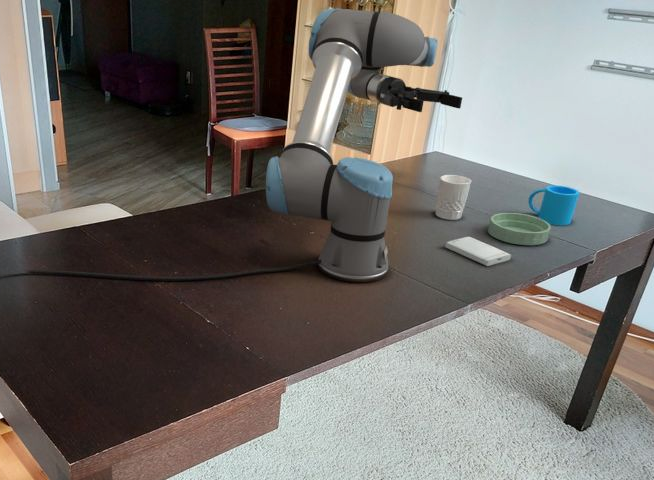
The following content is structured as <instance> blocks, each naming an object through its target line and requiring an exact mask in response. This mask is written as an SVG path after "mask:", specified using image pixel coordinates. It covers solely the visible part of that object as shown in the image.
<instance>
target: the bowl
mask: <svg viewBox="0 0 654 480" xmlns="http://www.w3.org/2000/svg"><path fill="white" fill-rule="evenodd" d="M551 226H552V224H549V223H548V222H546V221H544V220H542V219H540V218H538V216H534V215H529V214H526V213H519V212H499V213H495V214H492V215H491V216H490V218H489V223H488V226H487V233H488V234H489V235H490V236H491V237H493V238H495V239H497V240H500V241H502V242H505V243H509V244H513V245H520V246H539V245H542V244H545V243H546V242H548V240H549V237H550V234H551V230H552V227H551Z"/></svg>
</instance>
